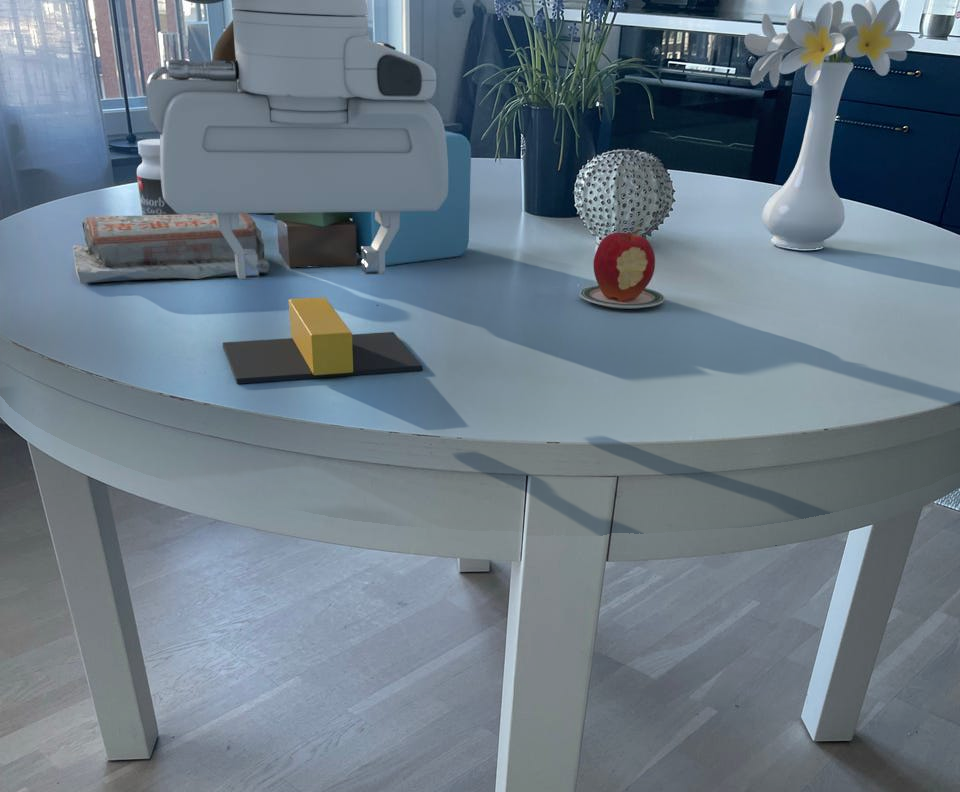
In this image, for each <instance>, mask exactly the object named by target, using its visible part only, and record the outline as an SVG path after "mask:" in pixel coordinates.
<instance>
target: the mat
mask: <svg viewBox="0 0 960 792" xmlns="http://www.w3.org/2000/svg"><path fill="white" fill-rule="evenodd" d="M222 349H223V351H224V354H225V356H226V359H227V362H228V364H229V366H230V367H229V368H230V370H231V372H232V374H233V375H232V376H233V377H234V380H235V383H236V384H237V385H243V384H255V383H257V384H258V383H269V382H282V381H283V382H284V381H296V380H297V381H298V380H309V379H322V378H338V377H350V376H363V375H365V376H366V375H378V374H391V373H405V372H418V371H419V372H420V371H423V365H422V363H421V362H420V361H419V360H418V358H417V357H416V356H415V355H414V354H413V353H412V352H411V351H410V350H409V349H408V347H407V346H406V344H405V343H403V341H402V340H401V339H400V337H398V335H397V334H396V333H395V332H394V331H386V332H385V331H384V332H369V333H355V334H353V333H352V351H353V372H352V373H339V374H326V375H313V373H312V371H311V370H310V368H309V366H308V364H307V363H306V361H305V359H304V357H303V356H302V354H301V352H300V350H299V349H298V347H297V345H296V344H295V342H294V340H293V338H292V337H291V338H290V337H288V338H272V339H257V340H256V339H255V340H243V341H242V340H240V341H226V342H224V341H223V342H222Z"/></svg>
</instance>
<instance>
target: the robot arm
mask: <svg viewBox="0 0 960 792" xmlns="http://www.w3.org/2000/svg"><path fill="white" fill-rule="evenodd" d="M184 1H185V2H189V3H193V4H198V5H211V4H216V3H221V2H224V1H225V0H184ZM231 8H232V9H231V13H232V20H233V29H234V42H235V55H236V59H235V61H212V60H204V61H188V60H186V59H170V60H167V61H166V65H163V66H161V67H158V68H157V69H155V70H154V71H153V72H152V73H150V75H149V77H148V79H147V81H146V85H145V97H146V106H147V114H148V119H149V121H150V124H151V125H152V127H153V129H155V131H156V132H157V133H158V134H159V139H160V174H161V187H162V195H163V198H164V200H165V202H166V203H167V204H168V205H169V206H170V207H171V208H172V209H173V210H174V211H175V212H176V213H179V214H216V223H217V226H218V228H219V230H220V231H221V233H222V234H223V236H224V238H225V239H226V241H227V242H228V244H229V245H230V247H231V248H232V250H233V252H234V253H235V266H236V273H237V275H236V276H237V279H239V280H246V279H247V280H248V279H249V280H250V279H259V278H260V274H259V270H258V268H257V265H258V254H257V253H256V252H255V250H254V249H243V248H242V246H241V245H240V243H239V241H238V240H237V238H236V237H235V235H234V233H233V232H232V230H231V228H232V229H233V230H238V229H239V214H238V213H243V214H263V213H273V214H274V213H305V212H375V220H376V221H377V222H378V223H379V224H380V225H381V227H380V229H379V231H378V233H377V235H376V237H375V239H374V241H373V243H372V245H371V246H361V256H362V257H361V256H360V257H361V258H362V260H361V261H360V267H361V271H362V273H364V275H365V276H368V275H369V276H373V275H374V276H375V275H380V276H381V275H385V273H386V266H385V251H387V249H388V248H389V246H390V244H391V242H392V240H393V239H394V237H395V235H396V233H397V231H398V230H399V228H400V211H436V210H438V209H439V208H440V206H441V205H442V204H443V202H444V201H445V199H446V198H447V195H448V157H447V145H446V136H445V131H446V129H445V125H444V120H443V118H442V116H441V114H440V112H439V110H438V109H437V108H436V106H434V105H433V104H431V102H428V101H427V100H430V99H432V98H433V96H434V95H435V93H436V89H437V73H436V70H435V68H434V67H433V66H432V65H430V64H429V63H427V62H425V61H423V60H421V59H419V58H417V57H414V56H412V55H410V54H407V53H404V52H401V51H399V50H396V47H395V46H393V45H391V44H389V43H386V42H383V41H382V42H381V41H378V42H376V41H374V40H371V39H370V35H369V28H368V26H369V19H368V18H369V16H368V13H369V12H368V4H367V0H231ZM165 74H167V77H168V78H160V77H161V76H163V75H165ZM236 78H237V79H238V80H237V81H236ZM237 83H238V88H239V89H237Z"/></svg>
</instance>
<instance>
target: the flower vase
mask: <svg viewBox="0 0 960 792" xmlns="http://www.w3.org/2000/svg"><path fill="white" fill-rule="evenodd" d="M804 3H805V0H802V1H801V3H800V4H799V7H798V2H795V3H794V4H792V7H791V9H790V11H789V14H788V16H787V19H786V23H785V24H786V25H785V28H786V29H785V30H786V31H787V33H786V32H780V33H778V34H777V32H776V30H775V27H774V24H773V21H772V19H771V17H770V16H769V14H768V13H764V14H763V15H762V18H761V19H762V20H761V30H762V33H763V35H764V36H762V35H759V34H758V33H757V34H756V33H747V34H746V35H745V36H744V40H743V43H744V45H745V47H746V49H747V50H748V51H749V52H750V53H751V54H753V55H754V56H759V57H760V56H761V57H760V58H758V60H757V61H756V62H755V64H754V65H753V66H752V67H753V68H752V70H751V72H750V77H749V78H750V84H751V85H752V86H756V85H758V84H760V82H761V81H762V80H763V79H764V78H765V76H766V75H767V74H769V75H768V76H769V82H770V84H771V86H772V87H773V88H777V86H778V85H779V81H780V74H782V75H789V74H792V73H794V72H796V71H797V70H799V69H801V68H802V67H805V70H804V78H805V81H806V84H807V85H809V86H811V99H810V104H809V105H810V106H809V112H808V116H807V122H806V126H805V131H804V135H803V140H802V143H801V148H800V152H799V156H798V158H797V161H796V163H795V166H794V168H793V170H792V172H791V173H790V175H789V176H788V179H787V180H786V181H785V182H784V184H783V185H782V186H781V187H779V188H778V189H777V190H776V191H775V192H774V193H772V195H771V196H770V197H769V199H768V200H767V201H766V203H765V205H764V208H763V210H762V214H761V221H762V223H763V225H764V227H765V229H766V230H767V231H768V232H769V233H770V234H771V235H772V237H771V240H770V243H771V242H772V243H774V244H776V245H780V246H784V247H790V248H798V249H816V248H821V247H824V246H826V240H828V239H830V238H831V237H833V236H835V235H836V234H837V233H838V232H839V231H840V230H841V228H842V227H843V226H844V223H845V207H844V204H843V201H842V199H841V198H840V196H839V194H838V193H837V191H836V190H835V188H834V185H833V181H832V176H831V168H830V166H831V165H830V160H831V151H832V150H831V149H832V142H833V138H834V137H833V136H834V131H835V123H836V119H837V113H838V109H839V104H840V100H841V98H842V93H843V91H844V88H845V85H846V82H847V80H848V77H849V75H850V73H851V72H852V71H853V69H854V63H853V61H852V59H853V58H861V57H865V56H866V57H867V58H868V59H869V61H870V64H871V65H872V67H873V69H874V71H875V73H876V74H878V75H879V76H881V77H883V76H886V75H888V73H889V71H890V68H891V60H893V61H897V62H903V61H905V60H907V56H908V53H907V51H909V50H910V49H911V50H912V48H914V46H915V43H916V40H915V38H914V37H913V36H912V35H911V34H910V33H909V32H906V31H902V30H897V28H898V26H899V24H900V22H901V18H902V14H901V10H900V2H899V0H887V1H886V2H884V4H883V5H882V6H881V8H880V9H879V10H878V11H877V7H876V5H875V3H874V2H873V1H872V0H866V1H865V3H864V5H863V4H860V3H854V4H853V5H852V6H851V8H850V15H851V19H852V21H845V22H842V21H843V17H844V12H845V11H844V10H845V8H844V3H843V1H842V0H836V1H834V2H833V3H832V2H830V1H827V2H825V3H824V4H823V5H822V6H821V7H820V8H819V10H818V12H817V15H816V16H815V20H804V19H802V15H803V8H804ZM843 49H844V53H845V55H844V57H843V59H842V54H843ZM789 52H790V53H789ZM787 53H788V55H786V54H787ZM784 55H786V56H785V57H784ZM783 57H784V58H783ZM841 59H842V60H841ZM772 243H771V244H772ZM824 248H825V247H824Z"/></svg>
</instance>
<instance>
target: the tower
mask: <svg viewBox="0 0 960 792" xmlns="http://www.w3.org/2000/svg"><path fill="white" fill-rule="evenodd" d="M273 215H274V217H273V218H274V220H275V221H276V227H277V242H278V253H279V254H280V256H281V257H282V259H283V260H284V261H285V263H286V265H287V266H288V267H289V268H290V269H297V268H296V267H303V268H309V267H308V266H326V267H347V266H350V267H351V266H358V254H357V241H356V224H355V223H354V222H353V221H352V212H305V213H273Z"/></svg>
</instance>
